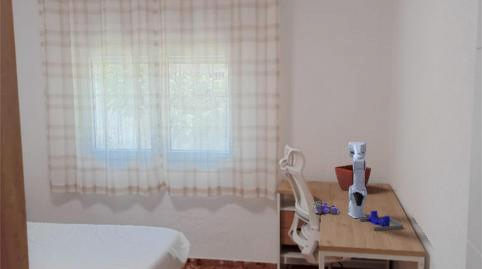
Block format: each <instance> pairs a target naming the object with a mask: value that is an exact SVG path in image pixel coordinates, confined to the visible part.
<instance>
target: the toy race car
mask: <svg viewBox="0 0 482 269" xmlns="http://www.w3.org/2000/svg"><path fill="white" fill-rule="evenodd" d="M314 205H316V209H317V211H318V214H317V215H321V214H327V213H331V214H330V215H340V214H341V213H340V209H339V208H337V207H336V206H335V205H333V204H331V205H330V206H328V203H327V202H323V203H322V201H321V200H314Z"/></svg>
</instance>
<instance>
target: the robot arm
mask: <svg viewBox="0 0 482 269" xmlns="http://www.w3.org/2000/svg"><path fill="white" fill-rule="evenodd" d="M366 151H367V143H366V141H349V142H348V155H349V157H350V158H352V165H353V172H354V184H353V185H352V186H350V188H349V191H348V200H349V202H348V212H347V215H348V216H350V217H352V218H353V219H360V218H368V217H367V215H365V202H366V201H367V197H368V192H367V186H366V187H365V170H364V169H366V167H367V165H366V163H367V161H366V159H365V158H366Z"/></svg>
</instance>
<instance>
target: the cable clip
mask: <svg viewBox="0 0 482 269" xmlns="http://www.w3.org/2000/svg"><path fill="white" fill-rule="evenodd" d="M379 217H380V216H379V214H378V210H370V215H369V216H368V218H369V221H368V222H369V223H371V224H373V225H378V226H379V227H383V226H391V224H390V223H391V222H390V218H391V216H389V215H384V216H383V215H382V217H383V220H380V219H379Z"/></svg>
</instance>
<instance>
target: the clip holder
mask: <svg viewBox="0 0 482 269" xmlns="http://www.w3.org/2000/svg"><path fill="white" fill-rule="evenodd" d="M378 217H379V219H380V220H381V221H382V220H383V216H378ZM359 222H369V217H365V218H359ZM390 223H391V224H393V225H390V226H383V227H382V226H373V229H372V230H373V231H384V230H396V229H397V230H399V229H403V226H404V224H403V223H400V222H399V221H397V220H395V219H394V218H392V217H390Z"/></svg>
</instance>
